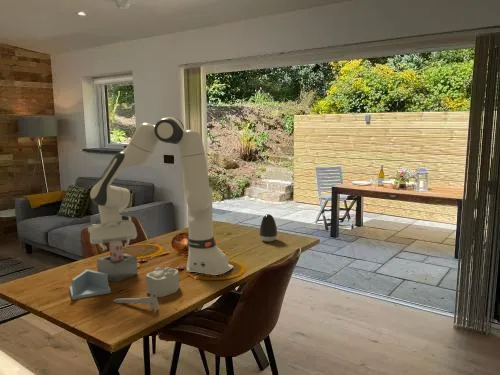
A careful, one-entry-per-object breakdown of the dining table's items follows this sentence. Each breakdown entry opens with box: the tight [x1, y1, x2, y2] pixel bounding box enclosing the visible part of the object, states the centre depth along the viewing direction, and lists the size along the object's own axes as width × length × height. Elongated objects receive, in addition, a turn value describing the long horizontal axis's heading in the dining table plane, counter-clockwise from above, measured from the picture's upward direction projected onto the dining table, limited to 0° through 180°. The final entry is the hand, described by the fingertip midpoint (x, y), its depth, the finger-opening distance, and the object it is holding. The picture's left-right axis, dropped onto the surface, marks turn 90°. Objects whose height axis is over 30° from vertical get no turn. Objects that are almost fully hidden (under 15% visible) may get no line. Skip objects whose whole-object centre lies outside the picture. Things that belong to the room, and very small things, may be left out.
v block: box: [69, 269, 112, 301], centre depth 173 cm, size 12×14×7 cm
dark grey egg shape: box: [258, 214, 278, 243], centre depth 241 cm, size 10×10×15 cm
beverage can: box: [109, 240, 124, 262], centre depth 190 cm, size 6×6×15 cm
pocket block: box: [96, 252, 138, 283], centre depth 191 cm, size 12×12×8 cm
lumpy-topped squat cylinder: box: [145, 266, 180, 298], centre depth 174 cm, size 10×13×9 cm
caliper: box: [112, 294, 159, 312], centre depth 160 cm, size 20×1×6 cm, turn 66°
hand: (116, 248), depth 189 cm, fingers open, 8 cm apart
